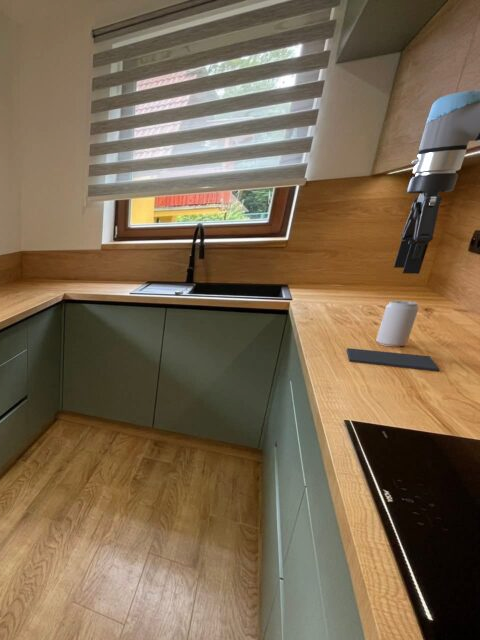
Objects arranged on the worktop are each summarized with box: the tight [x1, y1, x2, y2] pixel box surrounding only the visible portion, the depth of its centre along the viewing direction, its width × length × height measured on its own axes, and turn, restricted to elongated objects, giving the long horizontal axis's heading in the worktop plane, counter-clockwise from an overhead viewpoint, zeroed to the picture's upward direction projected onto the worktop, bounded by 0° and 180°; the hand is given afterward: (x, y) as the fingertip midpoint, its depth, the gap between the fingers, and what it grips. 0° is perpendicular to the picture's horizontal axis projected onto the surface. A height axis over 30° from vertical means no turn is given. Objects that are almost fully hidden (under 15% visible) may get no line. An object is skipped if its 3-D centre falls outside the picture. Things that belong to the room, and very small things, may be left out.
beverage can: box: [375, 300, 419, 348], centre depth 119 cm, size 6×6×12 cm
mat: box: [346, 347, 441, 372], centre depth 108 cm, size 16×12×1 cm
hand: (405, 270), depth 104 cm, fingers open, 13 cm apart
